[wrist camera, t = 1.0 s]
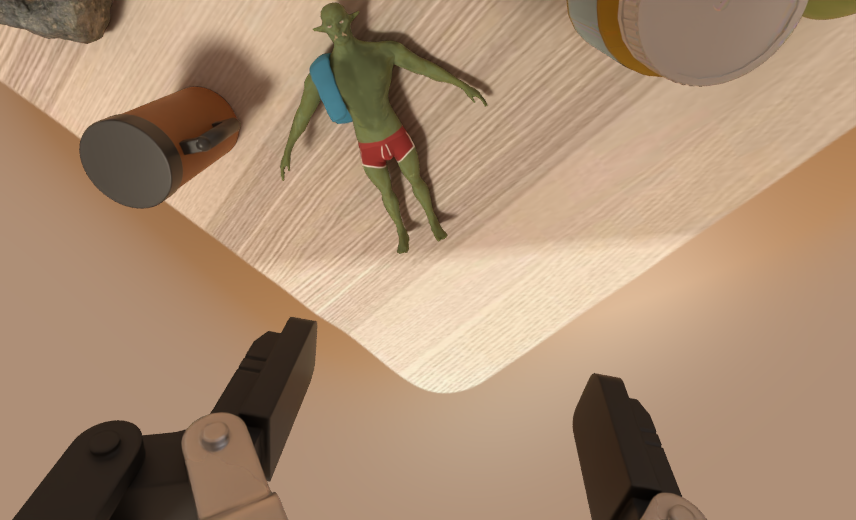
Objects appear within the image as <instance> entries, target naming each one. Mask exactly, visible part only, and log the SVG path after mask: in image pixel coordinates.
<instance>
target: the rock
mask: <svg viewBox="0 0 856 520" xmlns="http://www.w3.org/2000/svg"><path fill="white" fill-rule="evenodd" d="M111 4H112V0H0V24H3V25H8V26H11V27H15V28H20V29H26V30H28V31H30V32H32V33H34V34H36V35H39V36H42V37H44V38H48V39H50V38H61V39H65V40H71V41H75V42H80V43H85V44H88V43H91V42H94V41H97V40H98V39H100V38H102V37H103V34H104V31H105V29H106V27H107V26H108V24H109V21H110V8H111Z"/></svg>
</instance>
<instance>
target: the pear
mask: <svg viewBox="0 0 856 520" xmlns="http://www.w3.org/2000/svg"><path fill="white" fill-rule="evenodd" d="M855 13H856V0H808V3H807V5H806V8H805V10H804V13H803V15H802V16H803V17H806V18H809V19H816V20H827V19H835V18H840V17H844V16H848V15H852V14H855Z"/></svg>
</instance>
